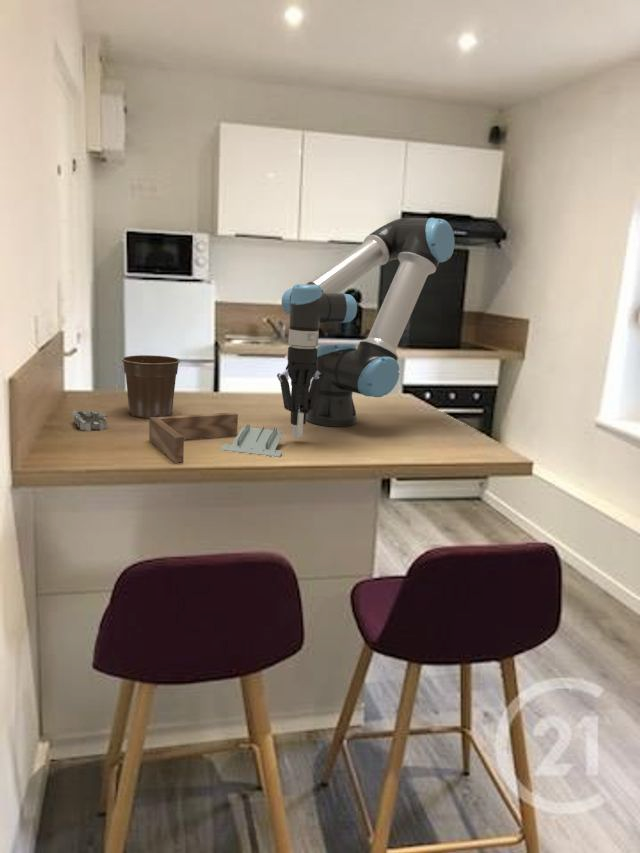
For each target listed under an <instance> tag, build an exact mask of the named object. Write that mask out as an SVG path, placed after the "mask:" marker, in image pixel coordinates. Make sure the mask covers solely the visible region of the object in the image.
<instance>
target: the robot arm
mask: <svg viewBox="0 0 640 853" xmlns="http://www.w3.org/2000/svg"><path fill="white" fill-rule="evenodd" d="M454 234H455V233H454V230H453V228H452V226H451V224H450V223H449V222H448V220H445V219H443V218H435V217H430V218H426V217H425V218H423V217H421V218H419V217H418V218H417V217H411V218H410V217H401V218H397V219H395V220H392V221H389V222H387V223H386V224H384V225H382V226H381V227H379V228H378V229H375V230H374V231H372V232H371V233H369V234H368V235H367V236H366V237H365V238H364V239H363V243H362V244H360V245H358V247H357V248H355V249H354V250H352V251H350V252H349V253H348V254H346V255H345V256H343V257H342V258H341V259H339V260H338V261H337V262H335V263H333V264H332V265H331V266H329V267H328V268H326V269H325V270H324V271H323V272H321V273H319V275H317V276H315V277H314V278H313V279H312V280H310V281H308V282H307V283H305V284H303V283H302V284H301V283H296V284H294V285H293V286H292V288H288V289H286V291H284V293H283V294H282V297H281V307H282V309H283V312H284V313H286V315H289V326H288V327H289V328H288V340H287V341H288V342H287V344H288V345H289V346H288V348H287V358H286V359H287V365H286V367H285V370H284V371H283V372H282V373H280V372H279V373H277V375H276V377H277V379H278V381H279V383H280V389H281V395H282V400H283V401H282V402H283V407H284V409H285V410H287V411H288V412H290V424H291V425H292V431H291V432H292V433H291V434H292V437H294V438H297V439H302V438H303V430H304V425H306V422H308V423H311V424H314V425H318V426H319V425H320V426H324V427H325V426H326V427H348V426H353V425H355V424H356V422H357V413H356V412H357V411H356V407H355V404H354V400H353V399H354V398H353V393H355V394H360V395H363V396H364V397H368V398H369V397H372V398H381V397H384V396H386V395H387V396H388V394H390V393H391V392H392V391H393V390H394V389H395V387H396V385H397V384H398V382H399V378H400V366H399V363H398V359H399V356H398V353H397V351H396V350H397V348H398V345H399V343H400V340H401V338H402V336H403V334H404V331H405V329H406V327H407V324H408V322H409V320H410V318H411V315H412V313H413V311H414V309H415V307H416V304H417V302H418V299H419V296H420V294H421V292H422V290H423V288H424V285H425V283H426V280H427V278H428V276H429V275H432V274H434V273H435V272H436V271H437V269H438V267H439V264H440V263H444V262H447V261H448V260H449V259H451V258H452V255H453V254H454V250H455V245H456V244H455V243H456V242H455V241H456V240H455V235H454ZM393 260H398V261H399V265H398V267H397V270H396V272H395V274H394V277H393V278H392V282H391V283H390V285H389V288H388V291H387V293H386V294H385V297H384V300H383V302H382V304H381V307H380V308H379V311H378V313H377V315H376V318H375V320H374V322H373V325H372V327H371V330H370V332H369V333H368V335H367V338H364V339H363V340H360V341H359V343H358V346H356V344H354V343H333V344H332V343H330V344H328V343H327V344H320V345H319V334H320V332H319V331H320V324H323V323H326V324H328V323H329V324H331V323H332V324H335V323H336V324H338V323H339V324H343V323H349V322H352V321H353V320H354V319H355V317H356V316H357V310H358V304H357V301H356V299H355V297H354V296H352V294H349V293H348V294H347V293H342V292H344V291H345V290H346V289H348V288H349V287H350V286H351V285H353V284H355V283H356V282H357V281H359V280H360V279H361V278H363V277H364V276H365V275H367V274H368V273H369V272H371V271H372V270H373V269H375V268H376V267H378V266H384V265H386V264H387V263H389V262H391V261H393ZM289 378H290V383H289ZM290 385H291V387H290ZM290 388H291V389H290Z"/></svg>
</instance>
